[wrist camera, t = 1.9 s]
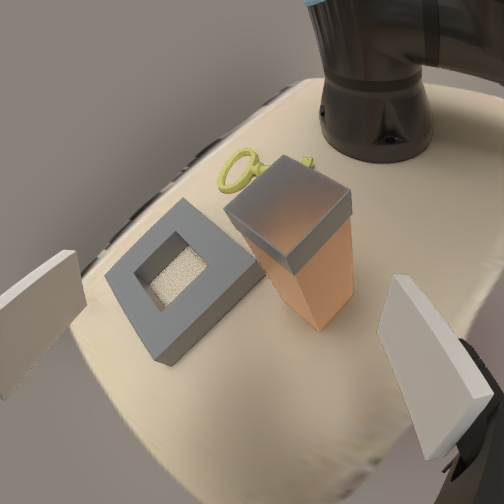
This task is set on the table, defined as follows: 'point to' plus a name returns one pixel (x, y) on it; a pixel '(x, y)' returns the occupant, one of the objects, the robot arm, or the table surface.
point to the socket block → (194, 295)
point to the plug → (299, 236)
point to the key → (251, 170)
